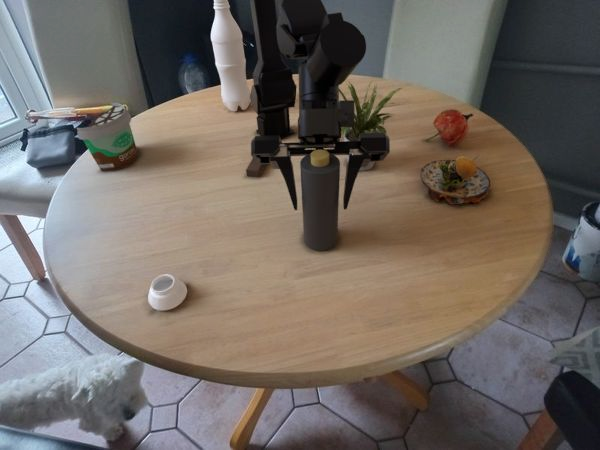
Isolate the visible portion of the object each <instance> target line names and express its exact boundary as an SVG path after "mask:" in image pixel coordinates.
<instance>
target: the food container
mask: <svg viewBox="0 0 600 450" xmlns="http://www.w3.org/2000/svg"><path fill="white" fill-rule="evenodd" d="M110 103H111V104H110V105H111V106H112V107H110V108H109V109H108V110H107V111H106V112H104V113H102V114H100V115H97V116H96V117H95V118H94V119H93V120H92V121H91V122H90V123H89V124H88V125H87V126H85V127H76V130H77V132H76V133H77V136H78V139H79V140H82V141H83V143H84V144H85V146H86V147H87V149H88V151H89V153H90V155H91V156H92V158H93V159H94V161H95V164H96V165H97V166H98V168H99V170H100V172H112V171H117V170H121V169H123V168H125V167H128V166H130V165H131V164H133V163H134V162H136V160H137V159H138V156H139V152H138V148H137V144H136V142H135V138H134V134H133V130H132V127H131V124H130V123H131V121H132V116H131V114H130V112H129V111H128V109H127V108H126V107H125V106H124V105H123V104H121V103H118V102H110Z"/></svg>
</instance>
